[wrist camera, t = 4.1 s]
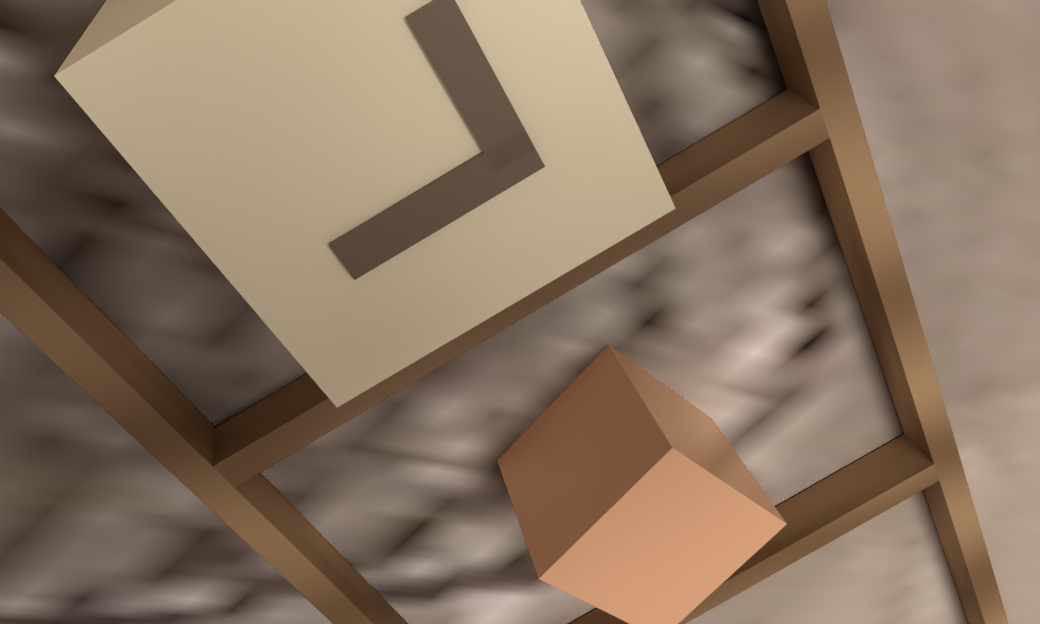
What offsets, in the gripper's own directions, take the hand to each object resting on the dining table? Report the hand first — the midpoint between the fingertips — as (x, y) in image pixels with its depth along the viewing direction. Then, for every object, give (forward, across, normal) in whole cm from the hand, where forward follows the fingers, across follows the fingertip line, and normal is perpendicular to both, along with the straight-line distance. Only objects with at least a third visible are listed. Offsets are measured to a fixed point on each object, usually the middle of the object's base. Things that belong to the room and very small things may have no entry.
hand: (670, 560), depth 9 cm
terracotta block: (+13, -2, +10) cm, 16 cm away
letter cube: (+13, +1, -2) cm, 13 cm away
